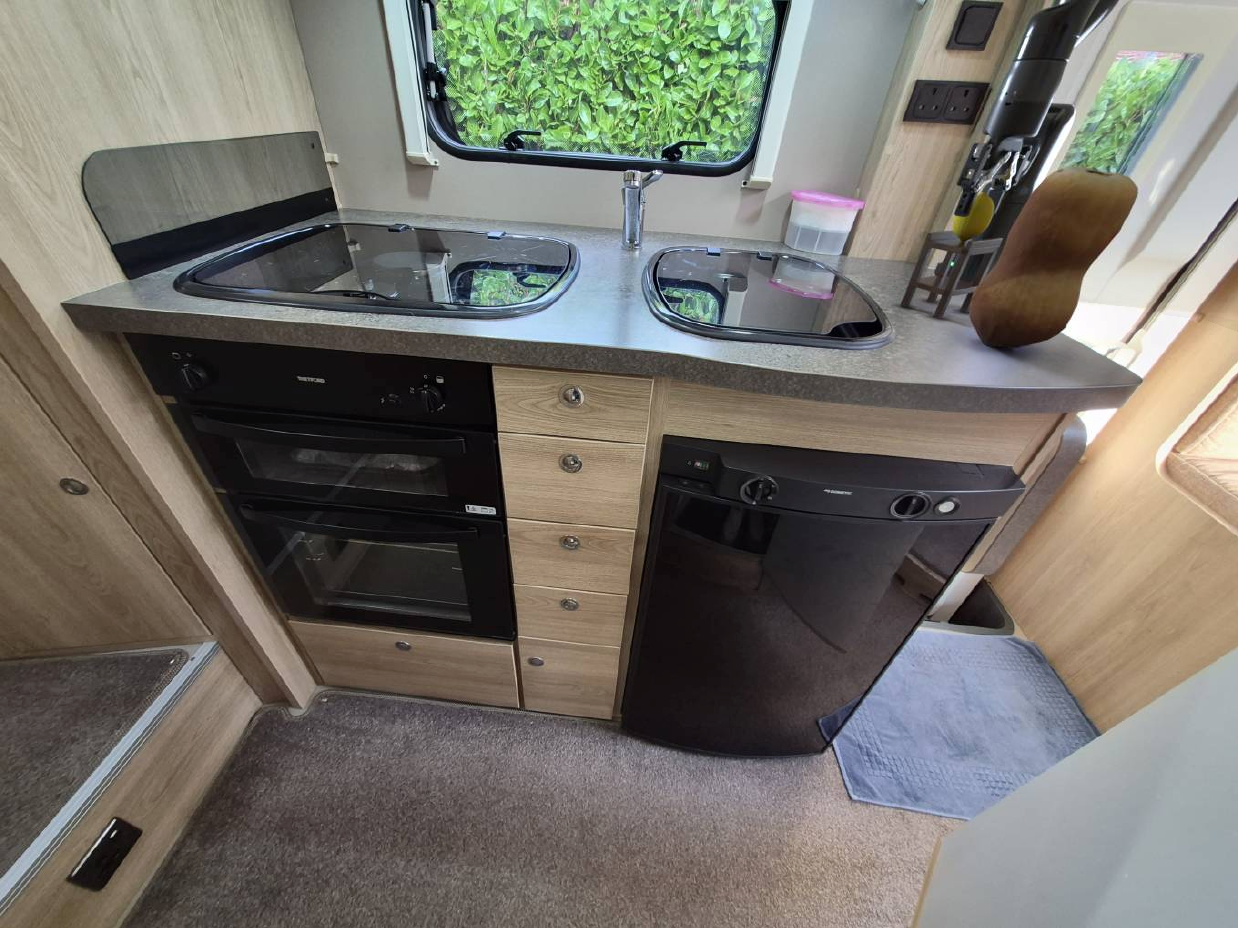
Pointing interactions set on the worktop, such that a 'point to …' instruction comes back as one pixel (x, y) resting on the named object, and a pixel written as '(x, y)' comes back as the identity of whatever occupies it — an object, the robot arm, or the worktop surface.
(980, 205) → the lemon
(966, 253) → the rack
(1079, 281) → the butternut squash
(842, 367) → the worktop surface
